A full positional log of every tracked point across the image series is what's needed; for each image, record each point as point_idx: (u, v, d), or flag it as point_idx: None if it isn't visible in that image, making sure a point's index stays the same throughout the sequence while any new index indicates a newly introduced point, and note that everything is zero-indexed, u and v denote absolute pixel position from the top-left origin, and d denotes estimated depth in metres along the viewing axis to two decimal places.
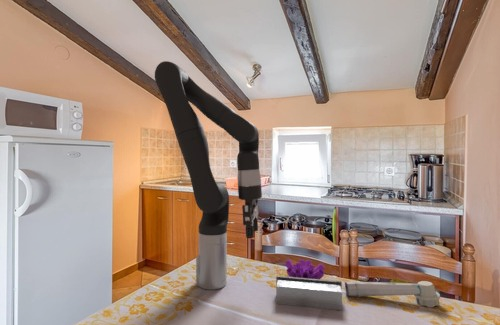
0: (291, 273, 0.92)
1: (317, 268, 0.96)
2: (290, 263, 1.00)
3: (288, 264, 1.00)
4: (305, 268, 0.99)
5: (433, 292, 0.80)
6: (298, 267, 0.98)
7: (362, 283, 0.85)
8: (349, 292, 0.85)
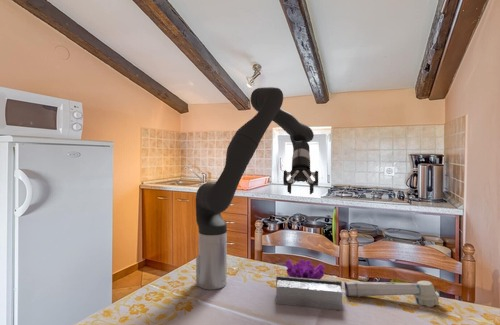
0: (291, 273, 0.92)
1: (317, 268, 0.96)
2: (290, 263, 1.00)
3: (288, 264, 1.00)
4: (305, 268, 0.99)
5: (432, 292, 0.80)
6: (298, 267, 0.98)
7: (362, 283, 0.85)
8: (349, 292, 0.85)
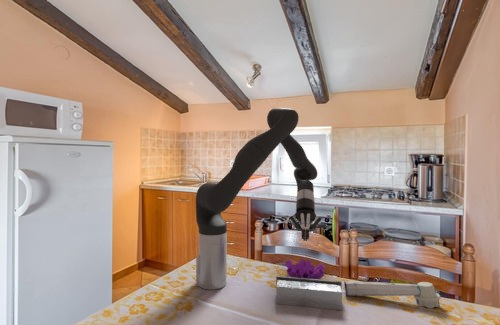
0: (291, 273, 0.92)
1: (317, 268, 0.96)
2: (290, 263, 1.00)
3: (288, 264, 1.00)
4: (305, 268, 0.99)
5: (433, 293, 0.79)
6: (298, 267, 0.98)
7: (361, 283, 0.85)
8: (348, 291, 0.85)
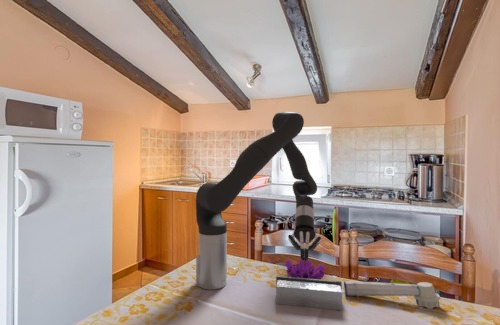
0: (291, 274, 0.91)
1: (317, 269, 0.96)
2: (290, 263, 0.99)
3: (288, 264, 0.99)
4: (305, 269, 0.98)
5: (433, 293, 0.79)
6: (298, 267, 0.98)
7: (361, 283, 0.85)
8: (348, 291, 0.85)
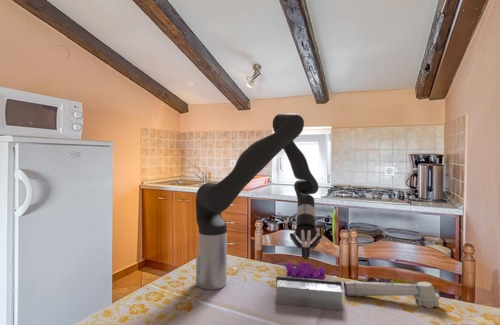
0: (291, 276, 0.89)
1: (318, 271, 0.94)
2: (290, 266, 0.98)
3: (288, 267, 0.97)
4: (305, 271, 0.96)
5: (432, 293, 0.79)
6: (298, 270, 0.96)
7: (360, 283, 0.85)
8: (347, 292, 0.85)
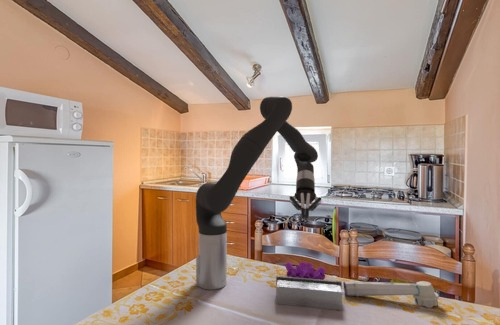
0: (291, 276, 0.89)
1: (318, 271, 0.94)
2: (290, 266, 0.98)
3: (288, 267, 0.97)
4: (305, 271, 0.96)
5: (431, 292, 0.80)
6: (298, 270, 0.96)
7: (360, 283, 0.85)
8: (347, 292, 0.85)
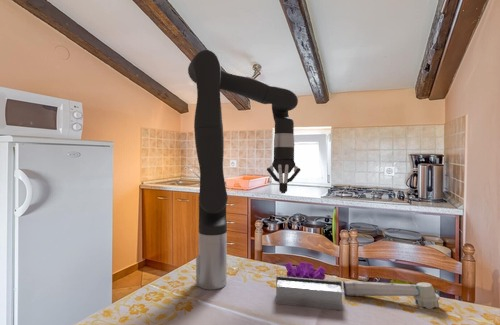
0: (291, 276, 0.89)
1: (318, 271, 0.94)
2: (290, 266, 0.98)
3: (288, 267, 0.97)
4: (305, 271, 0.96)
5: (432, 293, 0.79)
6: (298, 270, 0.96)
7: (360, 283, 0.85)
8: (347, 291, 0.85)
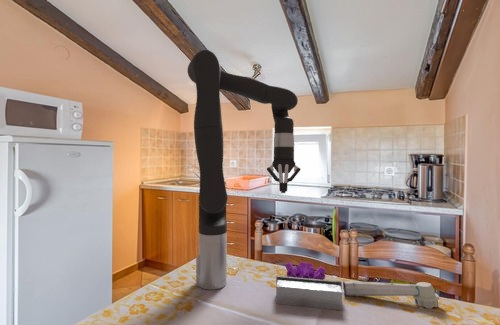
0: (291, 276, 0.89)
1: (318, 271, 0.94)
2: (290, 266, 0.98)
3: (288, 267, 0.97)
4: (305, 271, 0.96)
5: (432, 293, 0.79)
6: (298, 270, 0.96)
7: (360, 283, 0.85)
8: (347, 291, 0.85)
